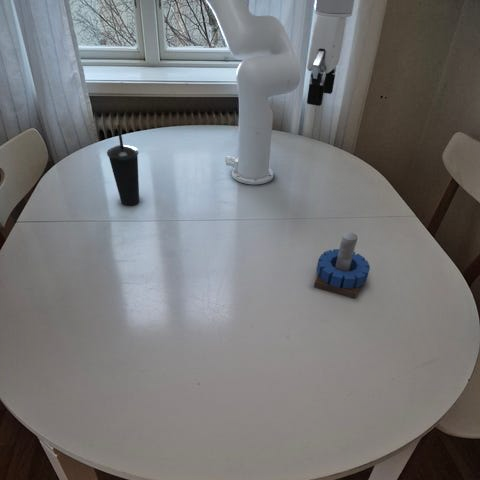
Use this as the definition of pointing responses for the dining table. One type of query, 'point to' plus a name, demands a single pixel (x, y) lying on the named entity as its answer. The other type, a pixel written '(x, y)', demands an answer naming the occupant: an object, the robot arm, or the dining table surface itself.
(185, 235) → the dining table surface
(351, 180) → the dining table surface
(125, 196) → the drinking cup
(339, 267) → the peg on square base
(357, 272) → the ring
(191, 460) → the dining table surface
